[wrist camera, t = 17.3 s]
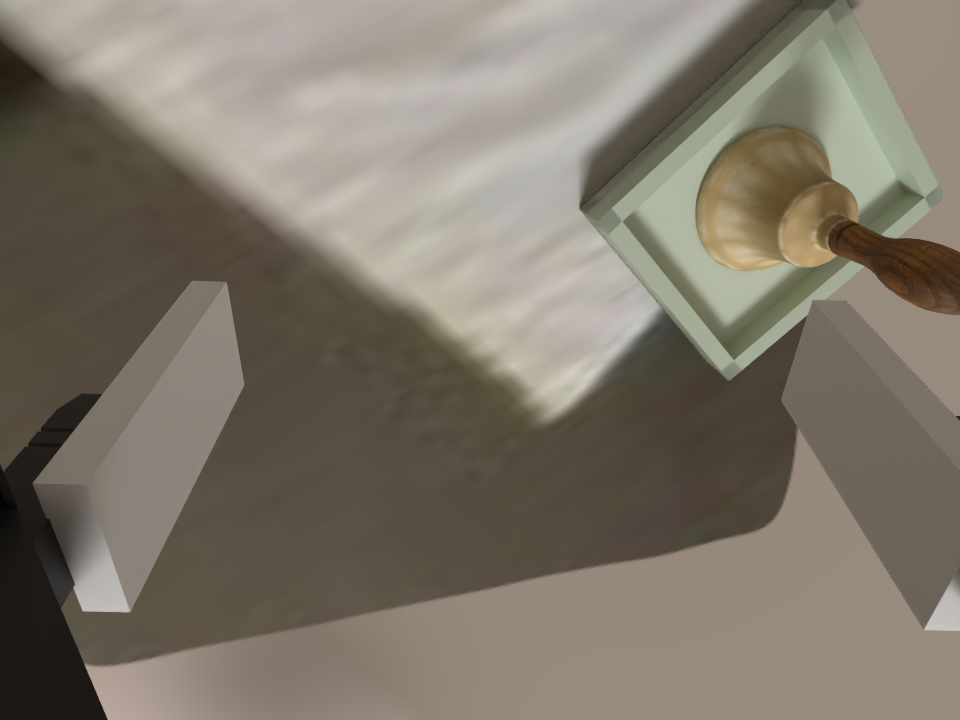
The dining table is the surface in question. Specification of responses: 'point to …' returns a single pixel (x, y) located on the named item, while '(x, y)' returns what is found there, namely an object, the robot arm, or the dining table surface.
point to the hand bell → (809, 220)
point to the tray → (725, 119)
